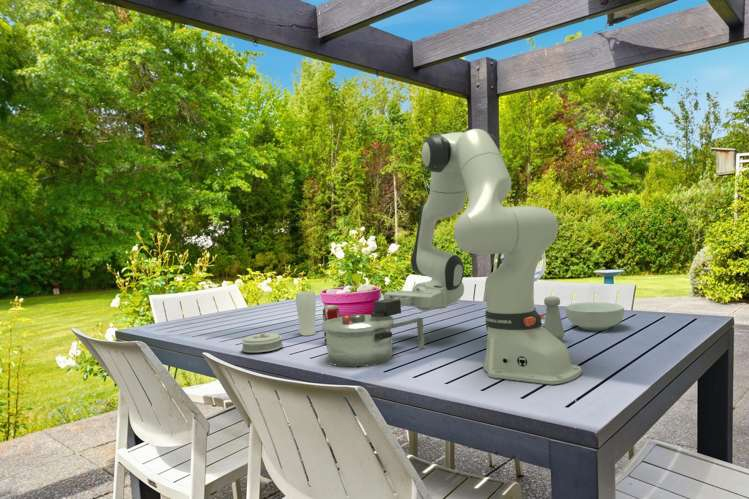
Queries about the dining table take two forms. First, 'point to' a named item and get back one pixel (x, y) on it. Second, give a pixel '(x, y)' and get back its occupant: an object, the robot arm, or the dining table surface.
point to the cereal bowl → (595, 315)
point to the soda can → (330, 315)
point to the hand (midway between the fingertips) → (394, 302)
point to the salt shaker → (553, 317)
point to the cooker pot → (366, 345)
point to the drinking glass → (306, 312)
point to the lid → (262, 342)
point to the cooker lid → (365, 319)
